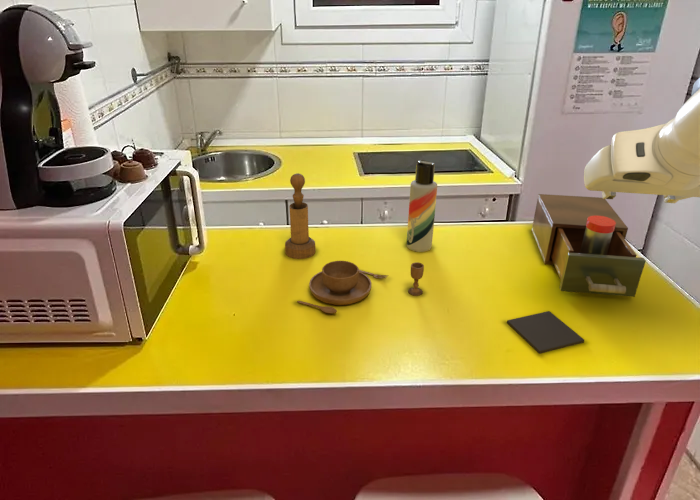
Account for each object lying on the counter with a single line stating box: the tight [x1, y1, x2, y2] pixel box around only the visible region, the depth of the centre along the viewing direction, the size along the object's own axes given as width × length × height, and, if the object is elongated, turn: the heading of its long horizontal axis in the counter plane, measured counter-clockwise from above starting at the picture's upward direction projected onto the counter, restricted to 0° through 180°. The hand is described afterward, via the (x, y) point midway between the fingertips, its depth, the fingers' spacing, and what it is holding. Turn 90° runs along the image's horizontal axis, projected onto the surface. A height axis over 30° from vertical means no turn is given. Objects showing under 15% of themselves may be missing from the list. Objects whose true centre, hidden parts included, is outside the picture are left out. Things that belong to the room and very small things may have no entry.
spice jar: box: [580, 216, 616, 255], centre depth 101 cm, size 5×5×11 cm
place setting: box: [296, 260, 425, 314], centre depth 97 cm, size 18×20×6 cm
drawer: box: [550, 227, 647, 298], centre depth 101 cm, size 20×13×8 cm
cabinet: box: [531, 193, 629, 266], centre depth 114 cm, size 17×15×10 cm
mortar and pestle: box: [284, 172, 317, 260], centre depth 110 cm, size 7×6×18 cm
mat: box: [506, 310, 585, 355], centre depth 89 cm, size 9×9×1 cm
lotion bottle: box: [406, 159, 438, 253], centre depth 112 cm, size 6×6×20 cm
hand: (637, 196), depth 84 cm, fingers open, 8 cm apart
